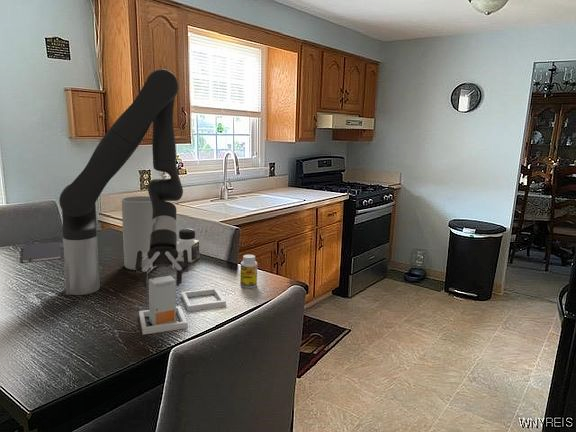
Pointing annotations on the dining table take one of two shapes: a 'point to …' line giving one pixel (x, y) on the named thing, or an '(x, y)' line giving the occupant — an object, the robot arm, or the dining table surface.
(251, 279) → the supplement bottle
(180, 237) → the medicine bottle
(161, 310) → the skincare box
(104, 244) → the dining table surface
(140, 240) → the cylinder vase
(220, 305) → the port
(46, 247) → the notebook
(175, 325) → the frame
